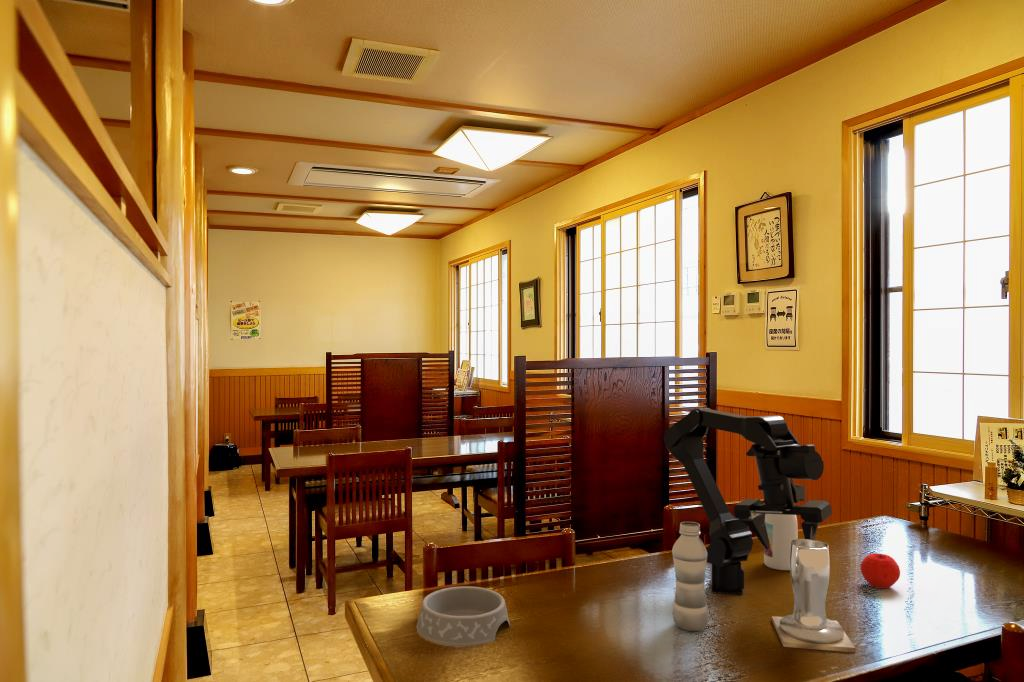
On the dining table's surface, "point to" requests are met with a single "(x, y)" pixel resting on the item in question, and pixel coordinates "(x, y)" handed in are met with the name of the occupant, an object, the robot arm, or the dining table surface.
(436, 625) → the dog bowl
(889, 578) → the apple
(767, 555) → the milk bottle
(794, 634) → the flange
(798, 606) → the beer glass
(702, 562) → the plastic bottle
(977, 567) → the dining table surface
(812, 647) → the base plate
